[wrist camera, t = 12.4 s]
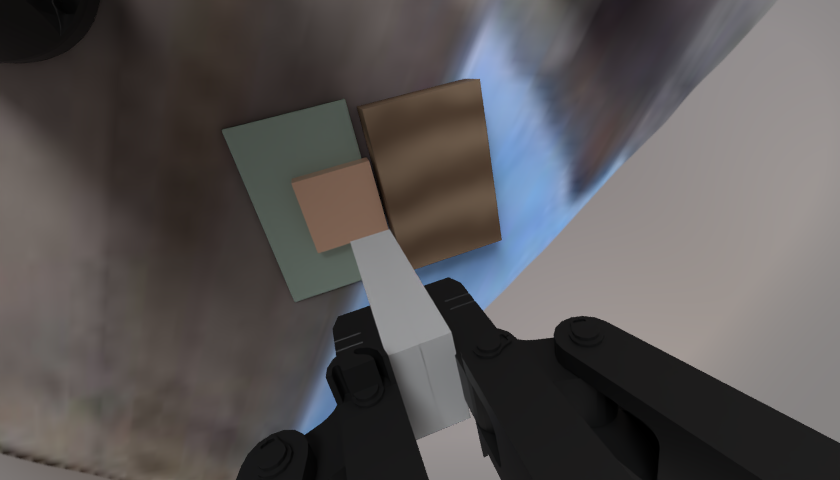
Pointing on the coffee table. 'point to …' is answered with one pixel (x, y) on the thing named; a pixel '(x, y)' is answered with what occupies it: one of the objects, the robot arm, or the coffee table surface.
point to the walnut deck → (434, 170)
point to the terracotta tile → (340, 204)
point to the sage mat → (274, 195)
